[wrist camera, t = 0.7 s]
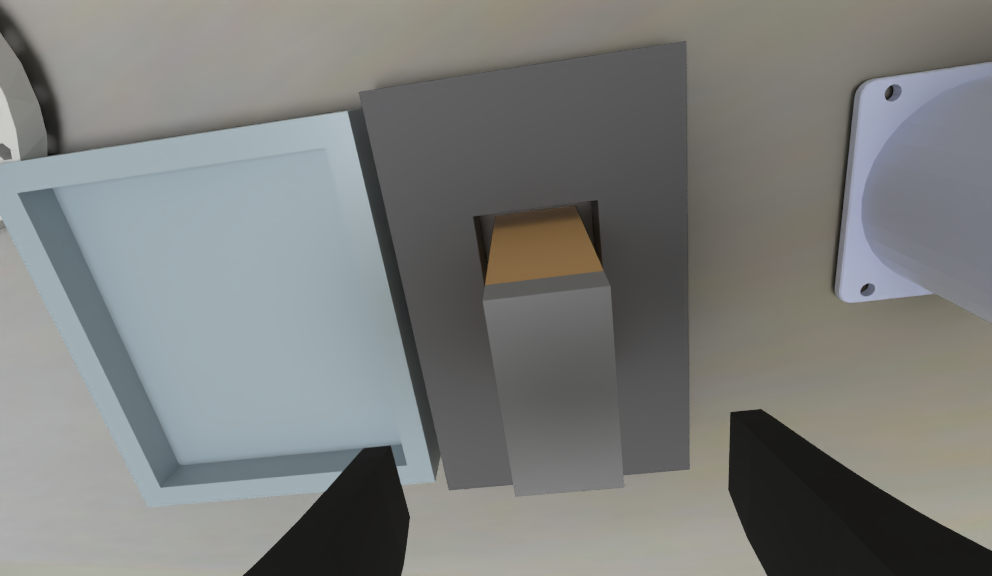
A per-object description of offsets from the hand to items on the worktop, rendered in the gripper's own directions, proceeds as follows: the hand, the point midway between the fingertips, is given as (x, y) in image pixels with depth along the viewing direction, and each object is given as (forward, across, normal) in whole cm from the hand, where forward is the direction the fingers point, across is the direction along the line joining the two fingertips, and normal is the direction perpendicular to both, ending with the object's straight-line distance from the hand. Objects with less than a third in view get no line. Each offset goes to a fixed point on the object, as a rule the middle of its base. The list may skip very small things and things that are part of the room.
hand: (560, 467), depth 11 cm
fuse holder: (+10, 0, 0) cm, 10 cm away
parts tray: (+10, +12, 0) cm, 16 cm away
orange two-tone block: (+10, 0, 0) cm, 10 cm away
